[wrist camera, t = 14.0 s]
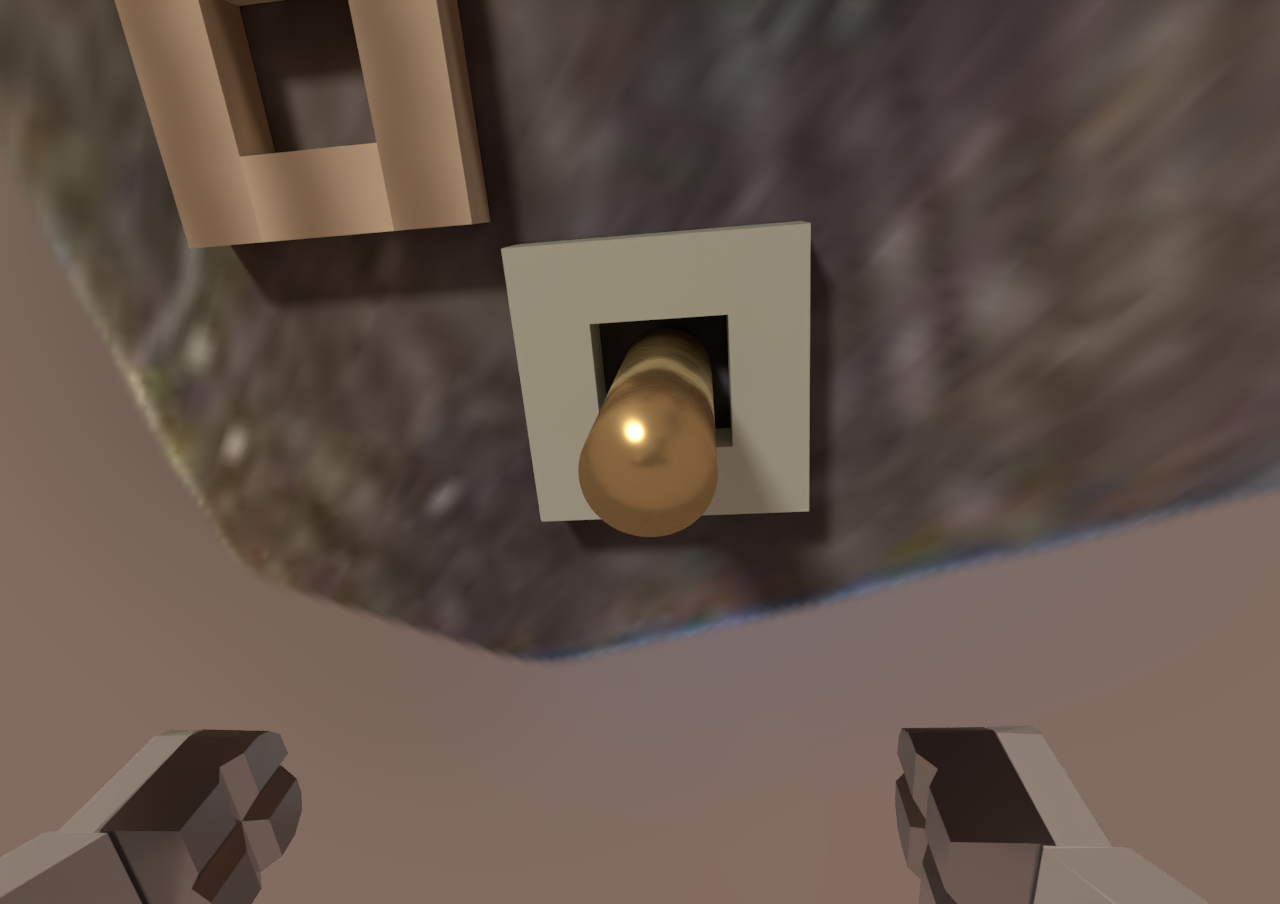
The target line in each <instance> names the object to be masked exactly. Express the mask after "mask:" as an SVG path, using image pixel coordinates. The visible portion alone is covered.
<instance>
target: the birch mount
mask: <svg viewBox="0 0 1280 904" xmlns="http://www.w3.org/2000/svg"><path fill="white" fill-rule="evenodd" d="M275 1H283V0H115V3H116V6H117V10H118V13H119V16H120V20H121V23H122V26H123V30H124V33H125V36H126V40H127V43H128V46H129V50H130V53H131V56H132V59H133V63H134V66H135V69H136V73H137V76H138V79H139V83H140V86H141V89H142V93H143V96H144V99H145V102H146V106H147V109H148V112H149V116H150V119H151V122H152V126H153V129H154V132H155V136H156V139H157V142H158V146H159V149H160V152H161V155H162V159H163V162H164V165H165V169H166V172H167V175H168V179H169V182H170V185H171V189H172V192H173V195H174V198H175V202H176V205H177V208H178V212H179V215H180V218H181V222H182V225H183V228H184V232H185V235H186V238H187V242H188V245H189V248H190V249H192V248H203V247H215V246H226V245H238V244H249V243H261V242H273V241H284V240H296V239H307V238H319V237H330V236H342V235H353V234H365V233H376V232H388V231H400V230H411V229H423V228H434V227H446V226H457V225H469V224H478V223H486V222H491V221H490V214H489V208H488V201H487V195H486V188H485V181H484V175H483V168H482V161H481V155H480V148H479V142H478V135H477V128H476V122H475V115H474V108H473V102H472V95H471V89H470V82H469V75H468V69H467V62H466V56H465V49H464V42H463V36H462V29H461V22H460V16H459V9H458V3H457V0H348V1H349V6H350V11H351V16H352V21H353V26H354V31H355V36H356V41H357V47H358V52H359V57H360V62H361V67H362V72H363V77H364V82H365V87H366V92H367V97H368V102H369V107H370V112H371V117H372V122H373V127H374V132H375V137H376V142H377V143H370V144H360V145H350V146H340V147H330V148H320V149H310V150H301V151H291V152H281V153H275V149H274V145H273V141H272V137H271V133H270V129H269V125H268V121H267V117H266V113H265V109H264V105H263V101H262V97H261V93H260V88H259V84H258V80H257V76H256V72H255V68H254V64H253V60H252V56H251V52H250V48H249V44H248V40H247V36H246V32H245V28H244V24H243V20H242V16H241V12H240V8H239V6H243V5H251V4H259V3H267V2H275Z"/></svg>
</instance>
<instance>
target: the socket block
mask: <svg viewBox="0 0 1280 904" xmlns="http://www.w3.org/2000/svg"><path fill="white" fill-rule="evenodd" d="M810 248H811V223H808V222H804V221H794V222H782V223H770V224H758V225H746V226H734V227H722V228H710V229H698V230H685V231H673V232H661V233H649V234H637V235H625V236H613V237H601V238H589V239H577V240H565V241H552V242H540V243H528V244H517V245H513V246H509V247H505V248H502V249H501V253H502V259H503V266H504V273H505V280H506V286H507V293H508V300H509V307H510V314H511V320H512V327H513V334H514V341H515V347H516V354H517V361H518V368H519V374H520V381H521V388H522V395H523V401H524V408H525V415H526V422H527V428H528V435H529V442H530V449H531V455H532V462H533V469H534V476H535V482H536V489H537V496H538V503H539V510H540V516H541V521H567V520H594V519H601V518H600V517H598V516H597V515H596V513H595V512H594V511H593V510H592V509H591V507H590V506H589V504H588V503H587V501H586V499H585V497H584V495H583V493H582V490H581V487H580V483H579V476H578V465H579V458H580V454H581V451H582V449H583V446H584V444H585V442H586V439H587V437H588V435H589V433H590V431H591V429H592V427H593V424H594V422H595V420H596V418H597V416H598V414H599V412H600V409H601V407H602V405H603V403H604V401H605V399H606V397H607V396H606V386H605V376H604V367H603V357H602V347H601V337H600V328H599V323H613V322H628V321H642V320H657V319H671V318H686V317H700V316H715V315H726V321H727V348H728V374H729V401H730V427H731V428H716V429H715V435H716V451H717V467H718V481H717V486H716V491H715V494H714V497H713V499H712V501H711V503H710V505H709V506H708V508H707V509H706V511H705V512H704V513H703V514H702V515H727V514H753V513H780V512H806V511H809V438H810Z"/></svg>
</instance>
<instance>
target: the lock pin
mask: <svg viewBox="0 0 1280 904" xmlns="http://www.w3.org/2000/svg"><path fill="white" fill-rule="evenodd" d="M578 476H579V483H580V487H581V490H582V493H583V495H584V497H585V499H586V501H587V503H588V504H589V506H590V507H591V509H592V510H593V511H594V512H595V513H596V515H597V516H598V517H600V518H601V519H602V520H603V521H604V522H606V523H607V524H608V525H610V526H611V527H613V528H615V529H617V530H619V531H622V532H624V533H627V534H631V535H635V536H641V537H659V536H665V535H670V534H673V533H676V532H678V531H681V530H683V529H685V528H686V527H688V526H690V525H691V524H693V523H694V522H695V521H696V520H697V519H698V518H700V517H701V515H702V514H703V513H704V512H705V511H706V509H707V508H708V506H709V505H710V503H711V501H712V499H713V497H714V494H715V491H716V486H717V481H718V467H717V451H716V435H715V418H714V402H713V386H712V369H711V362H710V358H709V356H708V353H707V351H706V350H705V348H704V346H703V345H702V344H701V343H700V342H699V341H698V340H697V339H696V338H695V337H694V336H692V335H691V334H689V333H687V332H685V331H682V330H679V329H675V328H659V329H655V330H651V331H649V332H647V333H645V334H643V335H642V336H640V337H639V338H638V339H637V340H636V341H635V342H634V343H633V344H632V345H631V347H630V348H629V350H628V352H627V354H626V356H625V358H624V360H623V362H622V364H621V366H620V369H619V371H618V373H617V375H616V377H615V379H614V381H613V384H612V386H611V388H610V390H609V392H608V394H607V397H606V399H605V401H604V403H603V405H602V407H601V409H600V412H599V414H598V416H597V418H596V420H595V422H594V424H593V427H592V429H591V431H590V433H589V435H588V437H587V439H586V442H585V444H584V446H583V449H582V451H581V454H580V458H579V465H578Z"/></svg>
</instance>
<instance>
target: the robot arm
mask: <svg viewBox="0 0 1280 904" xmlns="http://www.w3.org/2000/svg"><path fill="white" fill-rule="evenodd" d="M287 754H288V752H287V750H286V747H285V745H284V743H283V740H282V738H281V735H280V734H277V733H274V732H270V731H242V730H168V731H166V732H163V733H161V734H159V735H156V736H154V737H153V738H152V739H151V741H149V742H148V743H147V744H146V745H145V747H143V748H142V749H141V750H140V751H139V752H138V753H137V754H136V755H135V756H134V757H133V758H132V759H131V760H130V761H129V762H128V763H127V764H126V765H125V766H124V767H123V768H122V769H121V770H120V771H119V772H118V773H117V774H116V775H115V776H114V777H113V778H112V779H111V780H110V781H109V782H108V783H107V784H106V785H105V786H104V787H102V789H100V790H99V792H97V793H96V794H95V795H94V796H93V797H92V798H91V799H90V800H89V801H88V802H87V803H86V804H85V805H84V806H83V807H82V808H81V809H80V810H79V811H78V812H77V813H76V814H75V815H74V816H73V817H72V818H71V819H70V820H69V821H68V822H67V823H66V824H65V825H64V826H63V827H62V828H61V829H60V830H59V831H58V832H45V833H43V834H41V835H40V836H38V837H36V838H34V839H32V840H31V841H29V842H27V843H25V844H24V845H22V846H20V847H18V848H16V849H14V850H13V851H11V852H9V853H7V854H5V855H4V856H2V857H0V904H252V903H253V901H254V899H255V898H256V896H257V895H258V893H259V892H260V890H261V871H263V870H264V869H265V868H267V867H268V866H269V865H271V864H272V863H273V862H275V861H276V860H277V859H279V858H280V857H281V856H282V855H283V854H284V852H285V850H286V849H287V847H288V845H289V844H290V842H291V840H292V839H293V837H294V835H295V833H296V829H297V826H298V822H299V819H300V815H301V811H302V800H301V791H300V787H299V784H298V781H297V779H296V778H295V777H294V776H293V775H292V774H291V773H289V772H288V771H287V770H286V769H285V768H284V767H282V764H283V762H284V760H285V758H286V756H287ZM898 756H899V759H900V762H901V765H902V768H903V771H904V774H903V775H902V776H901V777H900V778H899V779H898V780H897V781H896V794H895V806H896V816H897V827H898V831H899V836H900V840H901V845H902V849H903V852H904V856H905V859H906V863H907V866H908V868H910V870H912V871H913V872H914V873H915V874H916V875H917V876H918V877H919V878H920V879H921V885H920V899H919V904H1210V903H1209V902H1207V901H1206V900H1204V899H1203V898H1201V897H1200V896H1198V895H1197V894H1196V893H1194V892H1193V891H1191V890H1190V889H1188V888H1187V887H1185V886H1184V885H1183V884H1181V883H1180V882H1178V881H1177V880H1175V879H1174V878H1173V877H1171V876H1170V875H1168V874H1167V873H1165V872H1164V871H1162V870H1161V869H1160V868H1158V867H1156V866H1155V865H1154V864H1152V863H1151V862H1149V861H1148V860H1146V859H1145V858H1144V857H1142V856H1141V855H1139V854H1137V853H1136V852H1135V851H1134V850H1132V849H1131V848H1125V847H1124V848H1123V847H1114V846H1113V844H1112V843H1111V841H1110V840H1109V838H1108V836H1107V835H1106V833H1105V832H1104V830H1103V829H1102V827H1101V826H1100V824H1099V822H1098V821H1097V819H1096V818H1095V816H1094V815H1093V813H1092V811H1091V810H1090V808H1089V807H1088V805H1087V804H1086V802H1085V801H1084V799H1083V797H1082V796H1081V794H1080V793H1079V791H1078V790H1077V788H1076V786H1075V785H1074V783H1073V782H1072V780H1071V779H1070V777H1069V776H1068V774H1067V773H1066V771H1065V769H1064V768H1063V766H1062V765H1061V763H1060V761H1059V760H1058V758H1057V757H1056V755H1055V754H1054V752H1053V750H1052V749H1051V747H1050V746H1049V744H1048V743H1047V741H1046V740H1045V738H1044V737H1043V735H1042V733H1041V732H1040V731H1039V730H1037V729H1036V728H1034V727H1033V726H1004V727H1003V726H1002V727H1001V726H999V727H988V728H984V727H964V728H963V727H960V728H959V727H958V728H902V729H901V732H900V735H899V741H898Z"/></svg>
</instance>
